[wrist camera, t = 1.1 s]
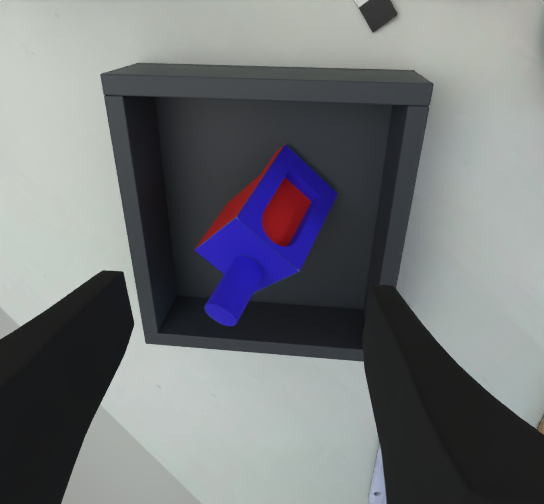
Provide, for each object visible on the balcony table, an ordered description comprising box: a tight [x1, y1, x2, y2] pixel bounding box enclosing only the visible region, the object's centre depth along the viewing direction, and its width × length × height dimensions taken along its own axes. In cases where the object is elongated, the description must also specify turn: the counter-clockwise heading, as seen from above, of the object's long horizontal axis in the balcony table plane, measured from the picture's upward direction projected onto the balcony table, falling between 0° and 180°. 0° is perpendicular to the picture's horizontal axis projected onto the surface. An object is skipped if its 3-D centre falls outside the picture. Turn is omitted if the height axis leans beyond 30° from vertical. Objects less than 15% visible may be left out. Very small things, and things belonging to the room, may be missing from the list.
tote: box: [101, 63, 433, 361], centre depth 21 cm, size 14×13×4 cm
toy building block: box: [194, 144, 338, 326], centre depth 20 cm, size 4×4×8 cm
